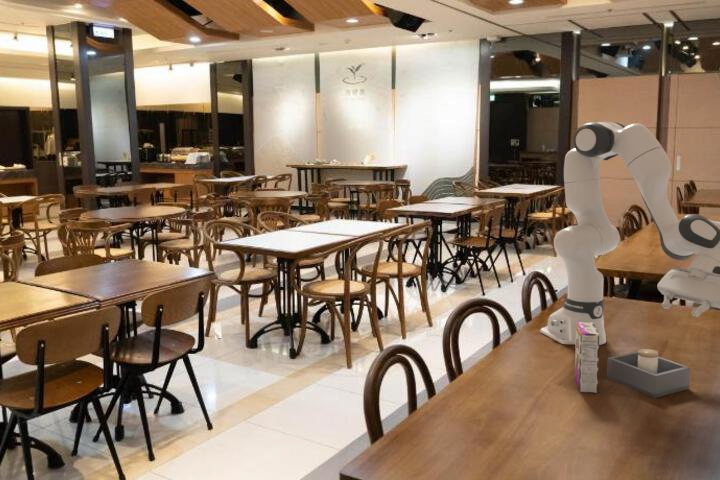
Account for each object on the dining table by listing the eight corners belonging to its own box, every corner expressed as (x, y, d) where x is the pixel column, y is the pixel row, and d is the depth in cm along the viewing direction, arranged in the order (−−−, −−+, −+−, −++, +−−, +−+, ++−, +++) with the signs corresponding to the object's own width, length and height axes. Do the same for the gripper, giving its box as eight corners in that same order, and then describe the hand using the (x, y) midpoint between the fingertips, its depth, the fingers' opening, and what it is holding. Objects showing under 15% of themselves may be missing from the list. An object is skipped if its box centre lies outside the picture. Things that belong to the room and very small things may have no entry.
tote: (606, 378, 183) (607, 357, 182) (639, 370, 188) (640, 350, 187) (654, 398, 169) (655, 376, 168) (688, 388, 174) (690, 367, 173)
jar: (632, 378, 180) (634, 350, 178) (645, 375, 182) (647, 347, 180) (647, 384, 175) (649, 356, 174) (660, 381, 177) (662, 353, 176)
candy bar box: (573, 377, 184) (575, 321, 181) (592, 378, 183) (594, 322, 180) (578, 392, 173) (580, 333, 171) (598, 393, 172) (600, 334, 170)
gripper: (668, 259, 191) (642, 296, 188) (734, 272, 173) (707, 313, 170) (678, 273, 194) (653, 309, 191) (744, 286, 175) (717, 327, 173)
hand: (679, 311), depth 180 cm, fingers open, 8 cm apart
